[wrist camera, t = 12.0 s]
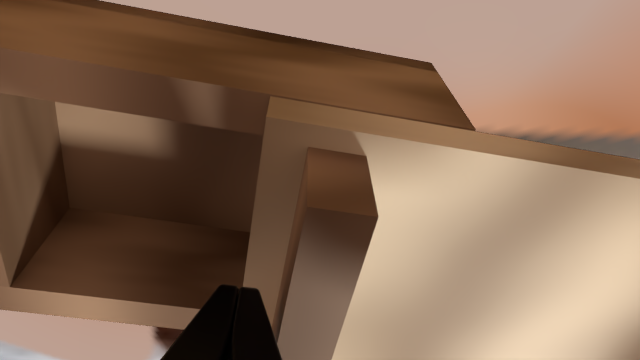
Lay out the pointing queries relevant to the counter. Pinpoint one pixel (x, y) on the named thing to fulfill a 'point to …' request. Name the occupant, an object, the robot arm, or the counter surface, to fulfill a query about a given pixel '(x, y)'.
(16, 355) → the counter surface
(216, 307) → the robot arm
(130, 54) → the toolbox
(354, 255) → the lid
